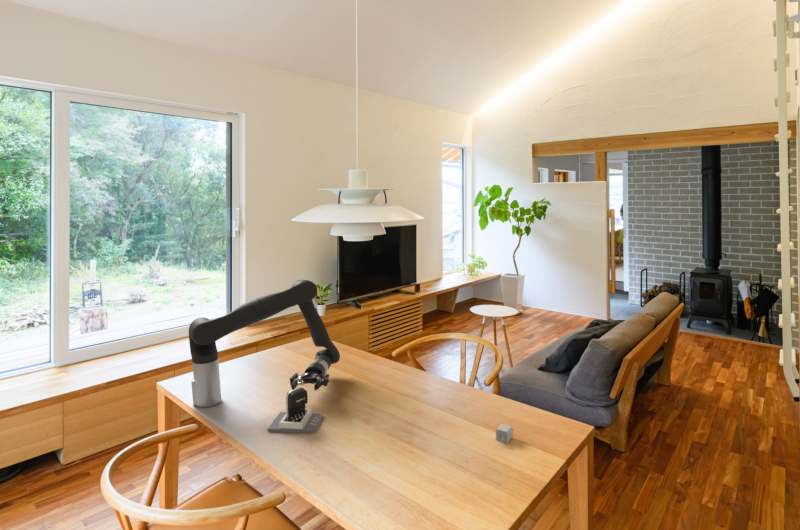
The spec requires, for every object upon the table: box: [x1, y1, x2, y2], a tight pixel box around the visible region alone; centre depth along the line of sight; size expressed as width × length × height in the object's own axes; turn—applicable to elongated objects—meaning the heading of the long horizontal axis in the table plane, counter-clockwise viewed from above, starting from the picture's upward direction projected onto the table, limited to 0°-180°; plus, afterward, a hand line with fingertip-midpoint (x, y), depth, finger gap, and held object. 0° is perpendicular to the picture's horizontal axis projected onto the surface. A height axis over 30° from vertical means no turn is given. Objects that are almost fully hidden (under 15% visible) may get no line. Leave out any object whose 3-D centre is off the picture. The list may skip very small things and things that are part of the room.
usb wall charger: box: [495, 423, 514, 444], centre depth 144 cm, size 4×7×4 cm, turn 145°
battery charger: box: [285, 386, 309, 422], centre depth 156 cm, size 7×4×11 cm, turn 136°
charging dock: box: [267, 407, 324, 435], centre depth 157 cm, size 16×12×3 cm
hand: (304, 387), depth 165 cm, fingers open, 8 cm apart
